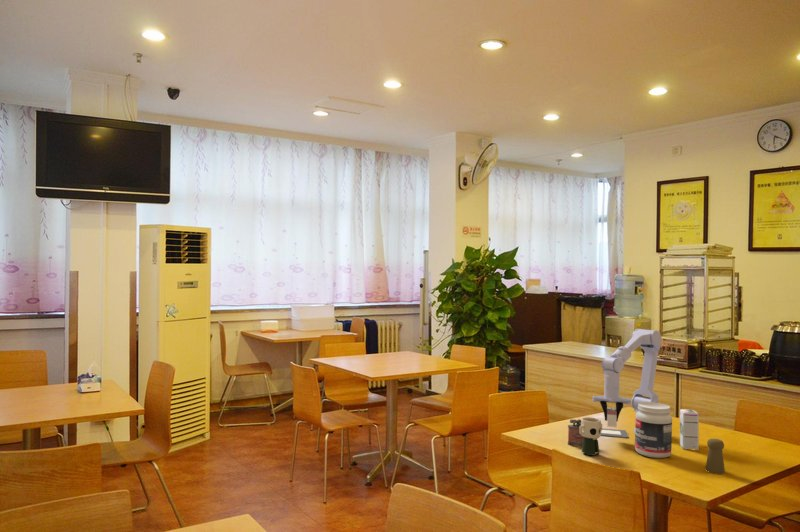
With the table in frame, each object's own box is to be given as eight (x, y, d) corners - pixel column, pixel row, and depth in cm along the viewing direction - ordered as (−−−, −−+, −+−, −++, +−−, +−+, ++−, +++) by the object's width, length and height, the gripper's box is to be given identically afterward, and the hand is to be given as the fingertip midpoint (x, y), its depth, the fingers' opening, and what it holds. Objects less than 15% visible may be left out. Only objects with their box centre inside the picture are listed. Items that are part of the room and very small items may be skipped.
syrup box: (699, 450, 231) (699, 413, 231) (682, 449, 232) (683, 412, 232) (694, 446, 236) (695, 409, 236) (678, 445, 237) (679, 408, 237)
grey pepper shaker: (701, 468, 210) (702, 436, 210) (717, 468, 210) (718, 436, 210) (712, 474, 204) (712, 441, 204) (728, 474, 204) (729, 441, 204)
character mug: (586, 458, 218) (587, 423, 218) (572, 453, 224) (573, 418, 224) (608, 455, 222) (609, 420, 222) (594, 449, 229) (595, 415, 229)
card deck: (614, 422, 244) (615, 408, 244) (616, 427, 237) (616, 412, 237) (605, 422, 245) (606, 407, 245) (607, 426, 238) (607, 411, 238)
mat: (625, 431, 256) (625, 430, 256) (628, 438, 246) (628, 437, 246) (588, 428, 260) (588, 427, 260) (590, 434, 249) (590, 433, 249)
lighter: (587, 444, 236) (588, 418, 236) (589, 446, 233) (590, 421, 233) (566, 443, 237) (567, 417, 237) (568, 445, 234) (568, 420, 234)
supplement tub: (628, 452, 226) (629, 404, 226) (645, 446, 234) (646, 400, 234) (661, 461, 216) (662, 411, 216) (677, 455, 224) (678, 406, 224)
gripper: (593, 387, 239) (592, 421, 239) (632, 390, 236) (631, 424, 236) (592, 384, 246) (591, 417, 246) (629, 386, 242) (629, 420, 242)
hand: (611, 420), depth 241 cm, fingers closed on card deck, 3 cm apart
